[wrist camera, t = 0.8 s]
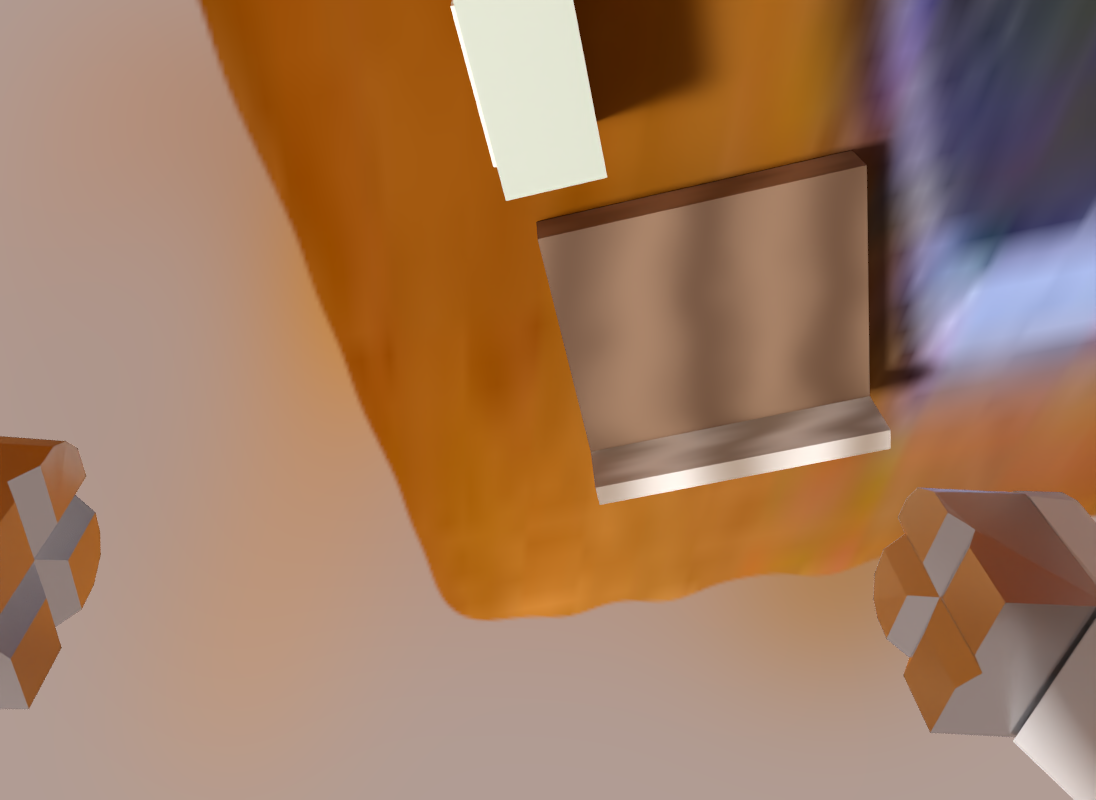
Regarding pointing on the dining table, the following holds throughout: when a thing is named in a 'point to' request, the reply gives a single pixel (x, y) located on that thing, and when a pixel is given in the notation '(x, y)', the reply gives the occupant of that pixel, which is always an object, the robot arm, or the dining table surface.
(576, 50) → the carton
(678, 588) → the dining table surface
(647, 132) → the dining table surface
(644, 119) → the dining table surface
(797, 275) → the shelf
